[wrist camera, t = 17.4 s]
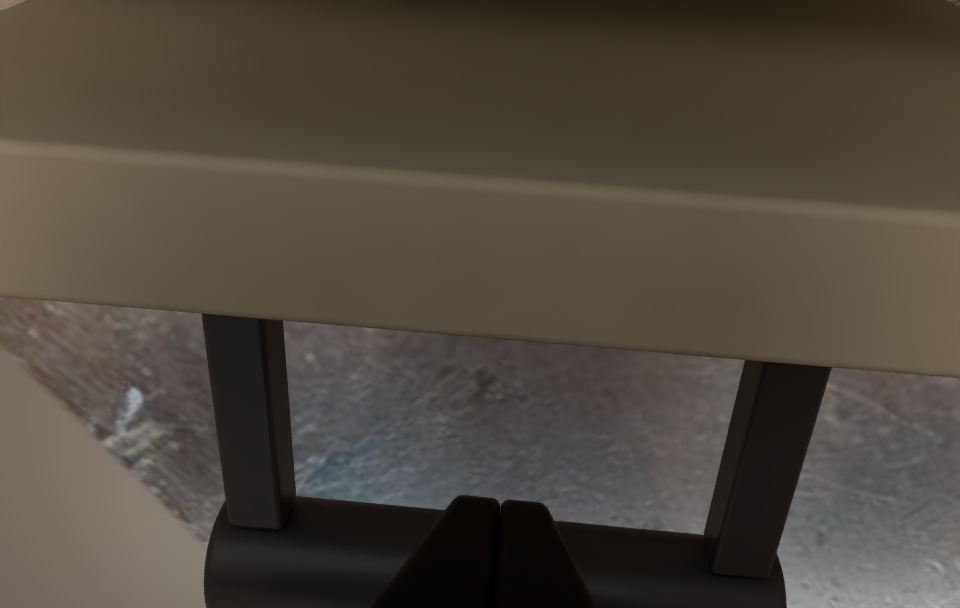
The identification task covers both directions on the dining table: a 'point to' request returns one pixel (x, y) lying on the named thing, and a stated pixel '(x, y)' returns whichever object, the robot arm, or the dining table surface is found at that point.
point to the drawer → (497, 225)
